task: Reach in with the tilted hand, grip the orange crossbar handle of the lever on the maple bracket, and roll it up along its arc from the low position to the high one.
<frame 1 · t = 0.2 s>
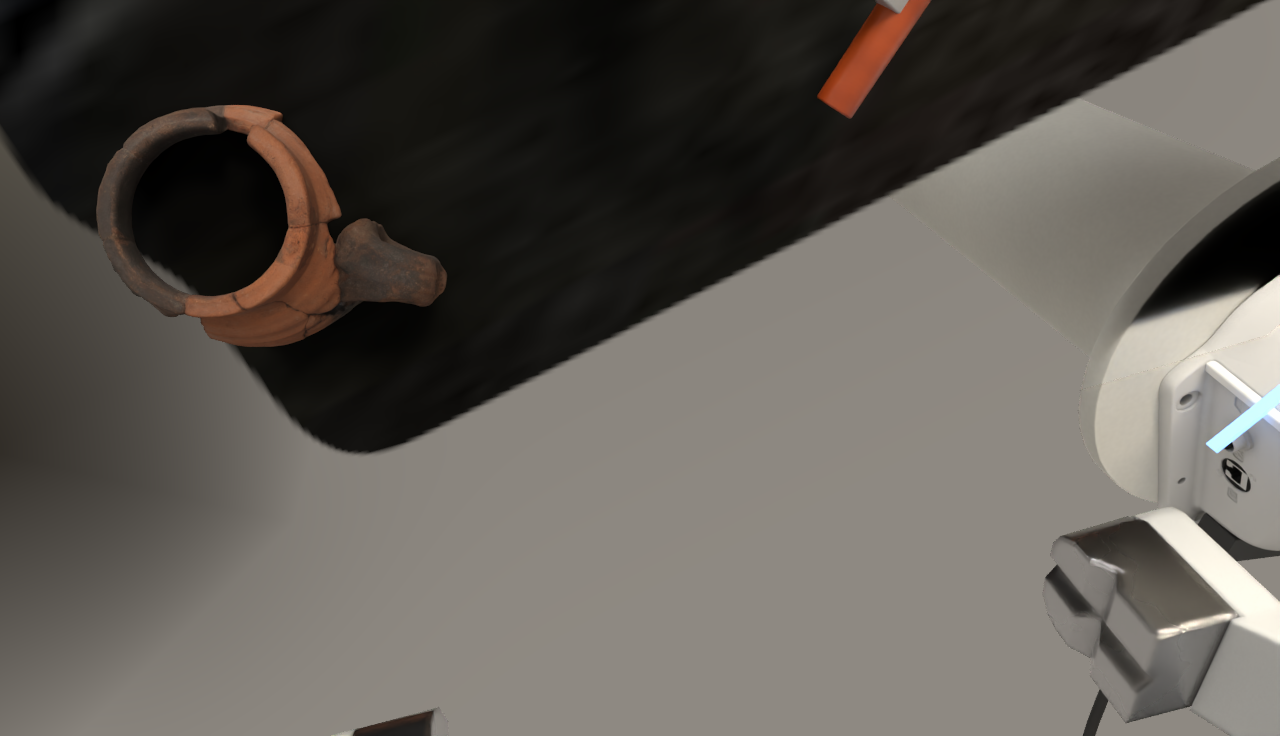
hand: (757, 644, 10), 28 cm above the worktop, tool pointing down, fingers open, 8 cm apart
pottery mug: (301, 214, 34), on the worktop
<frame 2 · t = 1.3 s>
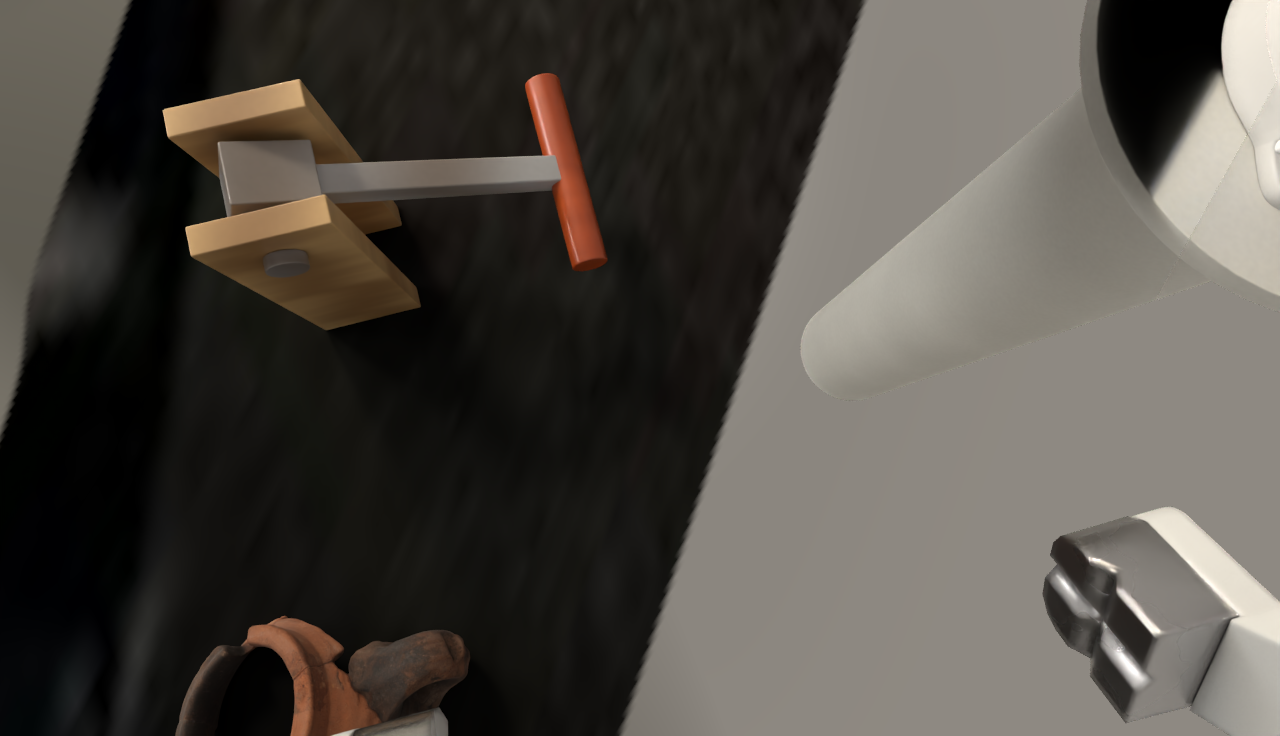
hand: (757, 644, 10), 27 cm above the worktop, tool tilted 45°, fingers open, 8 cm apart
pottery mug: (366, 696, 36), on the worktop
lever: (422, 179, 29), point 10 cm above the worktop, hinge at -25.0°
bracket: (375, 279, 39), on the worktop
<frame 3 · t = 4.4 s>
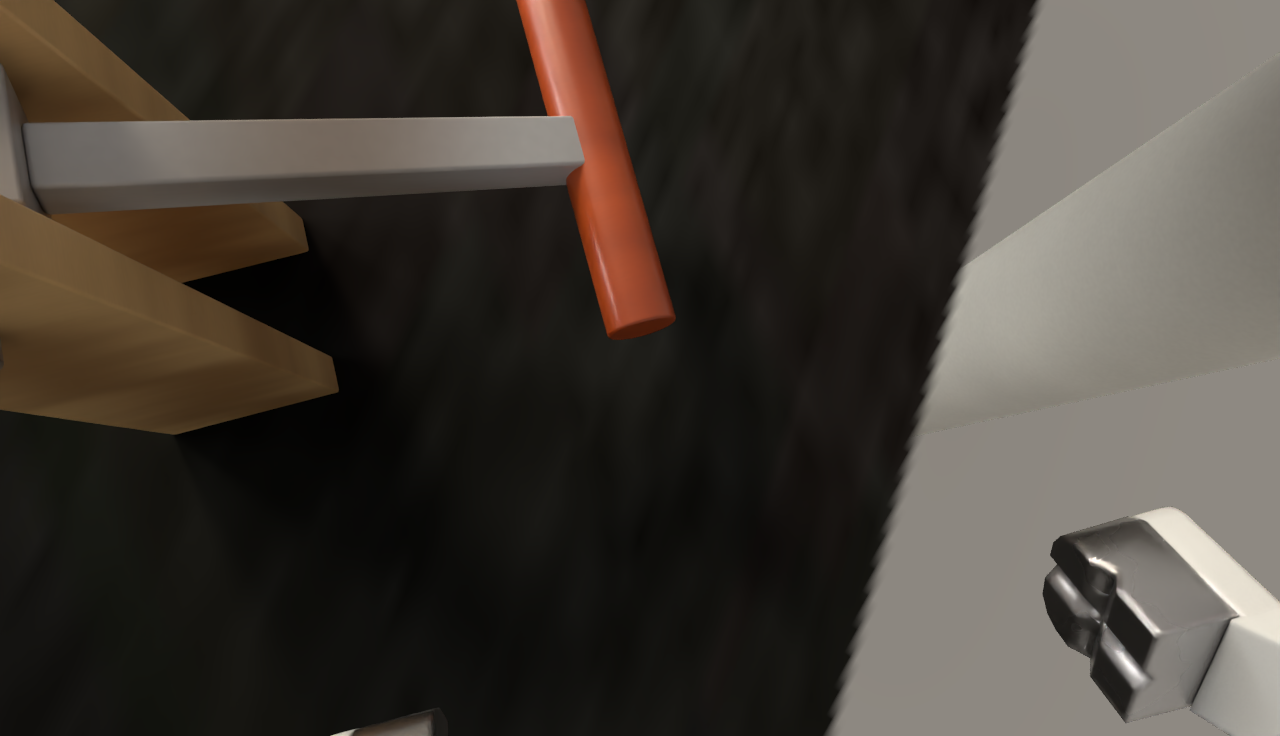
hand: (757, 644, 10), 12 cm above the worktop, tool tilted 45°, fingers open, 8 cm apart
lever: (295, 160, 14), point 10 cm above the worktop, hinge at -25.0°
bracket: (273, 339, 23), on the worktop
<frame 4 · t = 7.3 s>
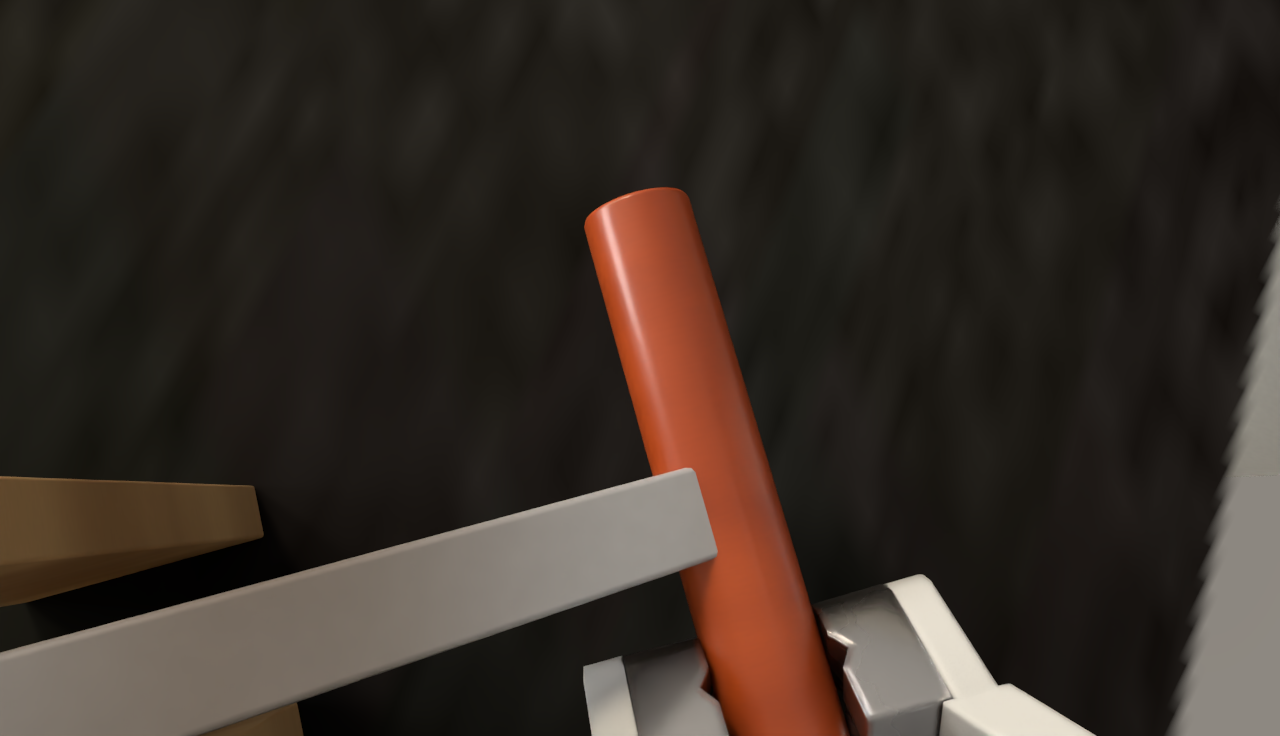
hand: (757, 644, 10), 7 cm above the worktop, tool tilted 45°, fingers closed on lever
lever: (190, 666, 7), point 10 cm above the worktop, hinge at -25.0°, touching gripper
bracket: (218, 632, 16), on the worktop
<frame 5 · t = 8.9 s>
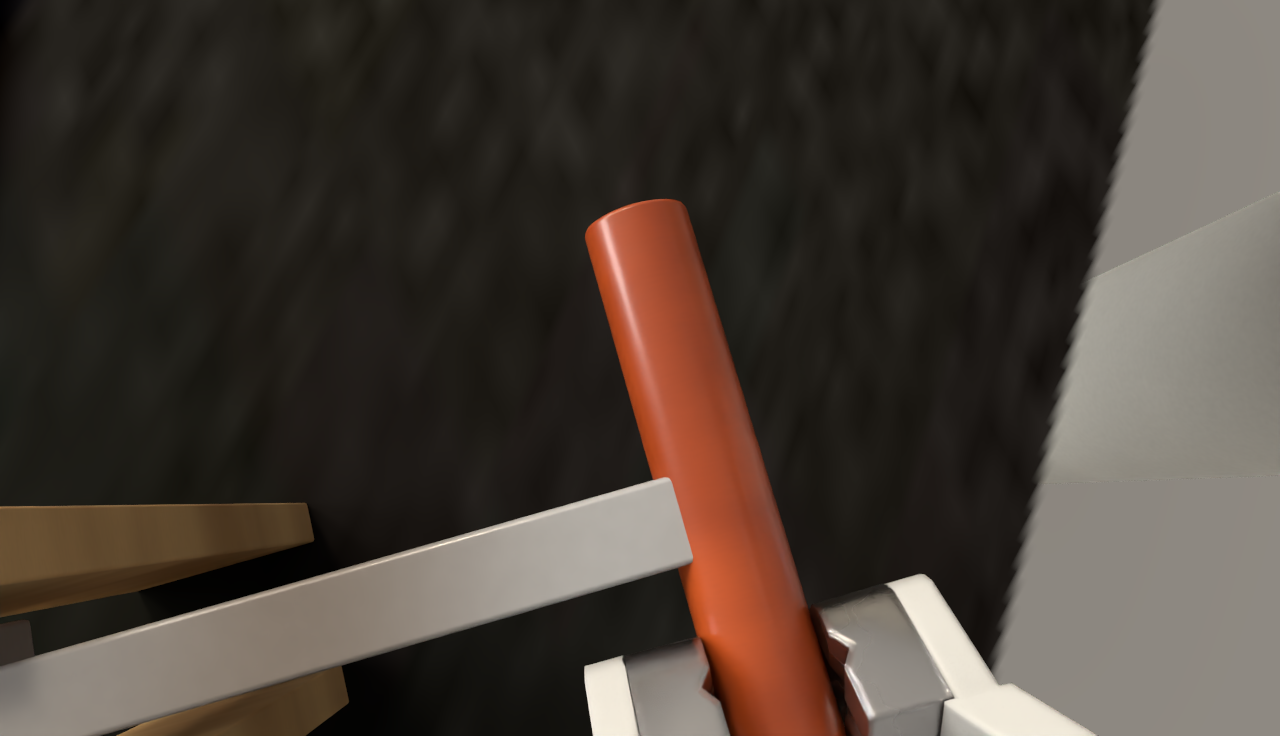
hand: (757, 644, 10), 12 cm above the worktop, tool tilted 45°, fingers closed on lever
lever: (272, 635, 10), point 12 cm above the worktop, hinge at 1.4°, touching gripper
bracket: (275, 614, 22), on the worktop
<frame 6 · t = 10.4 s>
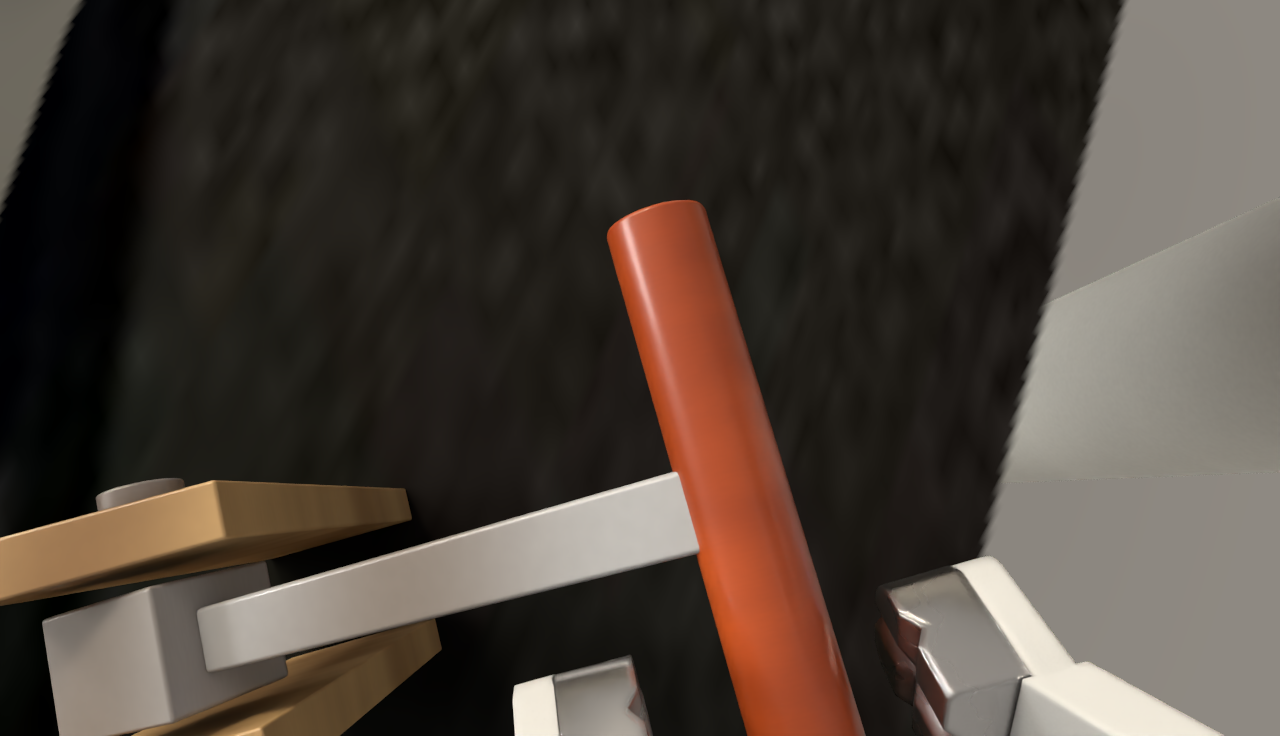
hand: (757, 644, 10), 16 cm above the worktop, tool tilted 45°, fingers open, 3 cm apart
lever: (393, 589, 13), point 14 cm above the worktop, hinge at 24.0°
bracket: (373, 580, 26), on the worktop
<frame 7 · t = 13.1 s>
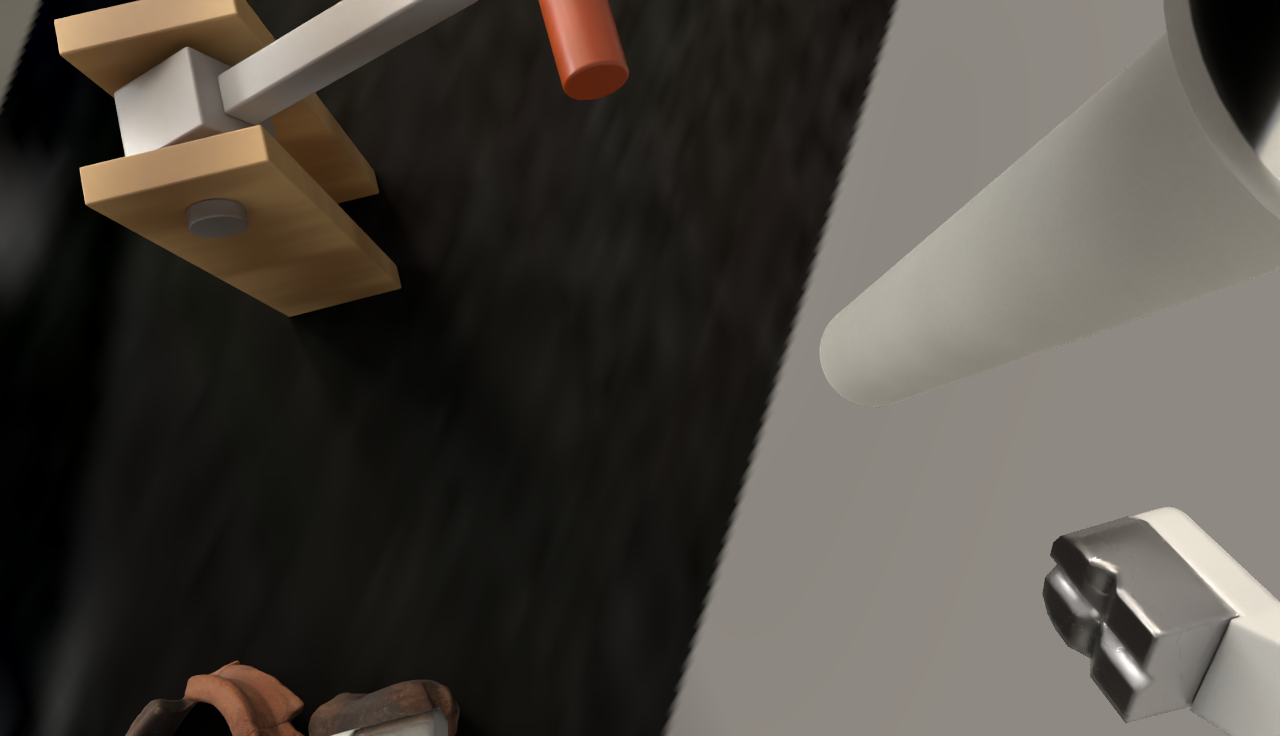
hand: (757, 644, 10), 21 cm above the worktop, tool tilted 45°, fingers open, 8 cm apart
lever: (346, 37, 19), point 14 cm above the worktop, hinge at 24.0°
bracket: (350, 258, 33), on the worktop
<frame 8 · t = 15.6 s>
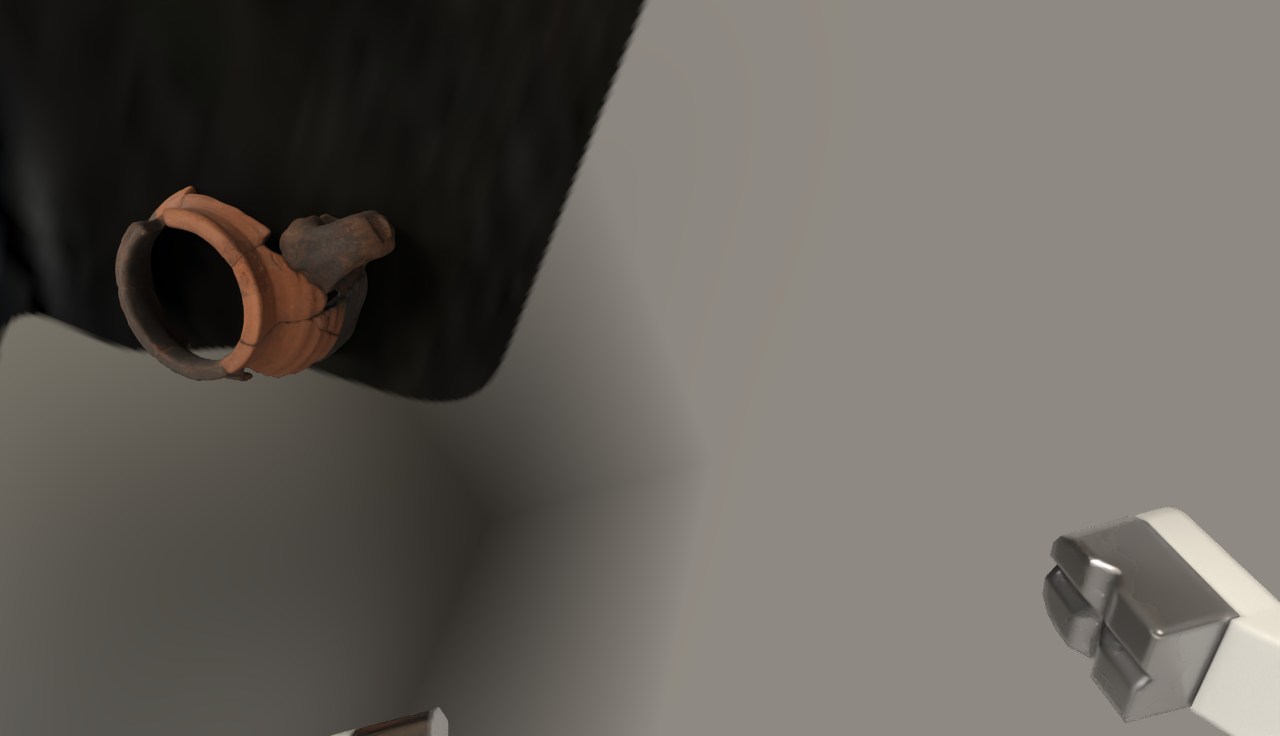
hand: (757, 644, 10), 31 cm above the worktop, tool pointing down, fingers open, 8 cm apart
pottery mug: (290, 245, 38), on the worktop
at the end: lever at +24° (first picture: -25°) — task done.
